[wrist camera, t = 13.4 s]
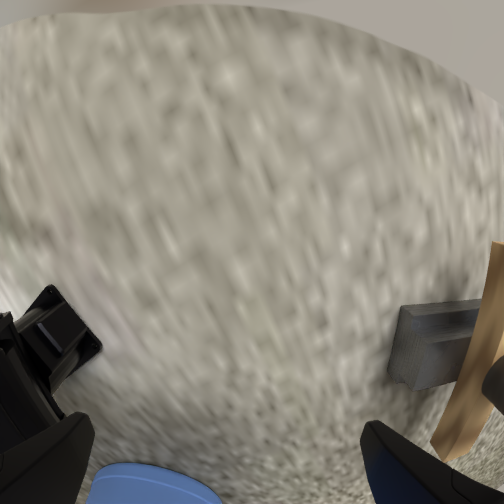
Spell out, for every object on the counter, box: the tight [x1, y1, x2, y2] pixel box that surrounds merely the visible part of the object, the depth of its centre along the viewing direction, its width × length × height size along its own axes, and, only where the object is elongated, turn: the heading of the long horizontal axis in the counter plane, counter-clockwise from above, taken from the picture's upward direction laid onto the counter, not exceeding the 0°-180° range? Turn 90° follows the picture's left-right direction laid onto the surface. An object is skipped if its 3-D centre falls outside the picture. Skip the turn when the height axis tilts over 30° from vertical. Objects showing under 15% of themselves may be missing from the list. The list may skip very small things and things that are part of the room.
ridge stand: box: [387, 299, 482, 391], centre depth 20 cm, size 12×6×4 cm, turn 89°
